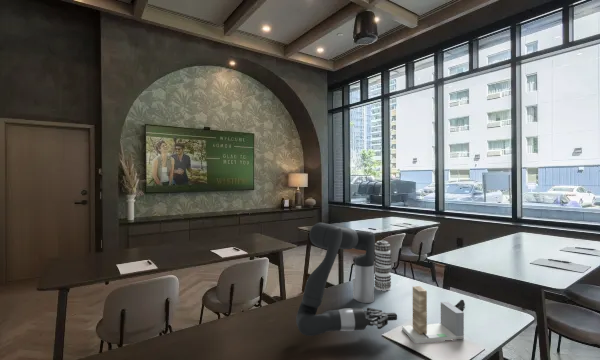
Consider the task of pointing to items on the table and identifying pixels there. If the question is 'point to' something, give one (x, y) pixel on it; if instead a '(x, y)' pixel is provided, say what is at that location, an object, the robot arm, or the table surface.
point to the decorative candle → (382, 265)
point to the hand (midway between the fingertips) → (396, 316)
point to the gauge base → (441, 326)
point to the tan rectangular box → (420, 310)
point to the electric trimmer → (460, 305)
